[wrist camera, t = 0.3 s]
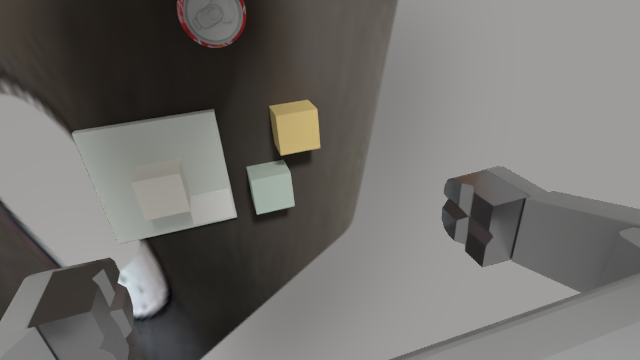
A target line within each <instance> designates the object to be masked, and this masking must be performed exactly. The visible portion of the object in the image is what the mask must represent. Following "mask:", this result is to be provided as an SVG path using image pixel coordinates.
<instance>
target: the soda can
mask: <svg viewBox="0 0 640 360" xmlns="http://www.w3.org/2000/svg"><path fill="white" fill-rule="evenodd" d="M177 14H178V18H179V21H180V23H181V25H182V27H183V29H184V31H185V32H186V33H187V34H188V35H189V36H190V37H191V38H192V39H193V40H194V41H196V42H197V43H199V44H201V45H203V46H206V47H211V48H219V47H224V46H227V45H229V44H231V43H233V42H234V41H235V40H236V39H237V38H238V37H239V36H240V35H241V33H242V31H243V29H244V26H245V23H246V8H245V4H244V1H243V0H177Z"/></svg>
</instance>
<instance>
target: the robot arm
mask: <svg viewBox="0 0 640 360" xmlns="http://www.w3.org/2000/svg"><path fill="white" fill-rule="evenodd" d="M444 194H445V196H446V197H447V198H448V200H447V202H446V203H445V205H444V206H443V208H442V221H443V225H444V228H445V230H446V232H447V233H448V235H449V236H450V237H451V238H452V239H453V240H454V241H457V242H460V243H462V244H465V251H466V252H467V253H468V254H469V255H470V256H471V257H472V258H473V259H474V260H475V261H476V262H477V263H478V264H479V265H480V266H481V267H485V266H489V265H493V264H497V263H500V262H504V261H508V260H511V259H512V261H513V262H515V263H517V264H519V265H521V266H524V267H526V268H528V269H530V270H532V271H535V272H537V273H539V274H541V275H543V276H546V277H548V278H550V279H553V280H554V281H557V282H559V283H561V284H563V285H565V286H568V287H570V288H572V289H574V290H577V291H579V292H581V293H580V294H577V295H574V296H571V297H569V298H566V299H563V300H560V301H557V302H554V303H551V304H548V305H545V306H543V307H540V308H537V309H534V310H531V311H528V312H525V313H523V314H520V315H517V316H514V317H511V318H508V319H505V320H502V321H500V322H496V323H494V324H491V325H488V326H485V327H482V328H479V329H476V330H473V331H470V332H468V333H465V334H462V335H459V336H456V337H453V338H451V339H448V340H445V341H442V342H439V343H436V344H433V345H430V346H427V347H424V348H421V349H419V350H416V351H413V352H410V353H407V354H404V355H401V356H399V357H396V358H393V359H390V360H640V209H636V208H632V207H627V206H622V205H617V204H612V203H608V202H603V201H598V200H593V199H589V198H583V197H579V196H574V195H570V194H564V193H559V192H555V191H552V192H547V191H545V190H543V189H542V188H540V187H538V186H536V185H535V184H533V183H531V182H529V181H528V180H526V179H524V178H522V177H520V176H519V175H517V174H515V173H514V172H512V171H510V170H508V169H507V168H505V167H501V166H496V167H492V168H489V169H485V170H481V171H479V172H475V173H471V174H467V175H463V176H459V177H455V178H451V179H448V180H447V182H446V184H445V188H444ZM119 274H120V272H119V270H118V268H117V266H116V263H115V262H114V260H112V259H111V258H106V259H101V260H96V261H92V262H87V263H82V264H78V265H73V266H68V267H64V268H59V269H54V270H50V271H46V272H41V273H37V274H33V275H30V276H28V277H26V278H25V279H24V280H23V282H22V284H21V286H20V288H19V289H18V291H17V293H16V295H15V296H14V298H13V300H12V302H11V304H10V305H9V307H8V309H7V311H6V312H5V314H4V316H3V318H2V320H1V321H0V360H127V358H128V352H129V346H128V344H127V342H126V340H125V338H126V337H127V336H128V335H129V333H130V332H131V331H132V327H133V320H134V319H133V305H132V302H131V298H130V295H129V292H128V290H127V288H126V287H124V286H122V285H120V284H119V283H117V282H118V278H119Z"/></svg>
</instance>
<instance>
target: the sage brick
mask: <svg viewBox="0 0 640 360" xmlns="http://www.w3.org/2000/svg"><path fill="white" fill-rule="evenodd" d="M246 168H247V173H248V179H249V184H250V189H251V195H252V200H253V203H254V206H255V210H256V213H257V215H258V214H262V213H267V212H271V211H275V210H280V209H284V208H288V207H293V206H295V205H294V196H293V188H292V180H291V173H290V171H289V169H288V167H287V165H286V163H285V161H284V160H279V161H274V162H269V163H264V164H259V165H254V166H248V167H246Z"/></svg>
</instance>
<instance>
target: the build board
mask: <svg viewBox="0 0 640 360" xmlns="http://www.w3.org/2000/svg"><path fill="white" fill-rule="evenodd" d="M72 136H73V139H74V141H75V143H76V146H77V148H78V150H79V153H80V155H81V157H82V160H83V162H84V165H85V167H86V169H87V172H88V174H89V176H90V178H91V181H92V183H93V186H94V188H95V190H96V193H97V195H98V197H99V199H100V202H101V204H102V207H103V209H104V211H105V214H106V216H107V219H108V221H109V223H110V225H111V228H112V230H113V233H114V235H115V237H116V240H117V242H118V244H122V243H126V242H131V241H135V240H139V239H144V238H148V237H153V236H157V235H161V234H166V233H170V232H175V231H179V230H183V229H188V228H192V227H196V226H201V225H205V224H210V223H214V222H218V221H223V220H227V219H232V218H236V217H237V214H236V210H235V205H234V200H233V196H232V191H231V187H230V182H229V177H228V173H227V168H226V164H225V159H224V154H223V150H222V145H221V141H220V136H219V131H218V127H217V122H216V118H215V113H214V109H210V110H203V111H197V112H191V113H184V114H178V115H172V116H165V117H159V118H153V119H147V120H140V121H134V122H128V123H121V124H115V125H109V126H102V127H96V128H90V129H84V130H77V131H74V132H73V133H72Z"/></svg>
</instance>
